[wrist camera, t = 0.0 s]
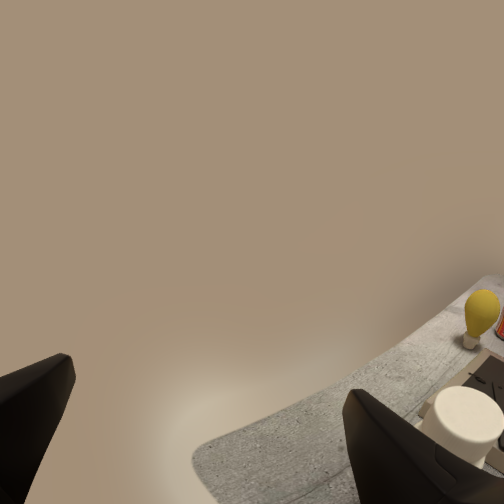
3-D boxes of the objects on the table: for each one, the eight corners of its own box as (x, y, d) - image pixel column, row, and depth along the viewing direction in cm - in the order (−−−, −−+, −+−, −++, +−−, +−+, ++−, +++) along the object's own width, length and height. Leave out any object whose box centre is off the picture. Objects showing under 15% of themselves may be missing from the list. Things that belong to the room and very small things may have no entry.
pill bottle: (409, 551, 10) (510, 461, 7) (342, 522, 14) (414, 425, 11) (436, 497, 15) (513, 398, 12) (379, 472, 19) (438, 370, 16)
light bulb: (482, 360, 35) (506, 302, 33) (449, 346, 40) (469, 289, 37) (485, 344, 40) (505, 292, 37) (455, 332, 45) (472, 280, 42)
